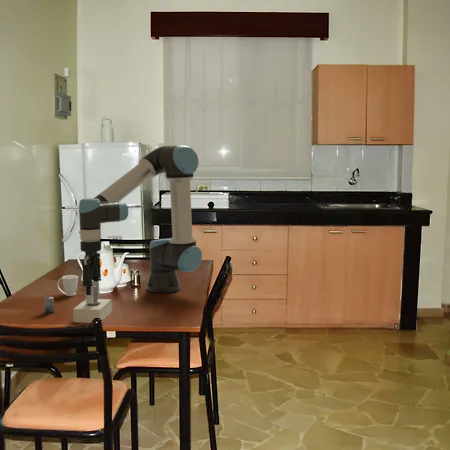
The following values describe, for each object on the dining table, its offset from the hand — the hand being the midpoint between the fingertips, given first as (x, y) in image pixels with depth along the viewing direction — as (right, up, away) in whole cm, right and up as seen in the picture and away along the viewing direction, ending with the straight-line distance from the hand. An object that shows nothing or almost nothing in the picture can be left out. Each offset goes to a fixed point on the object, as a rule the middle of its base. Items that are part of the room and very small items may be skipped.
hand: (92, 300), depth 204 cm
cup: (-19, -2, +33) cm, 39 cm away
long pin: (0, -6, +1) cm, 6 cm away
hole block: (0, -6, +1) cm, 6 cm away
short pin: (-19, -6, +7) cm, 20 cm away
